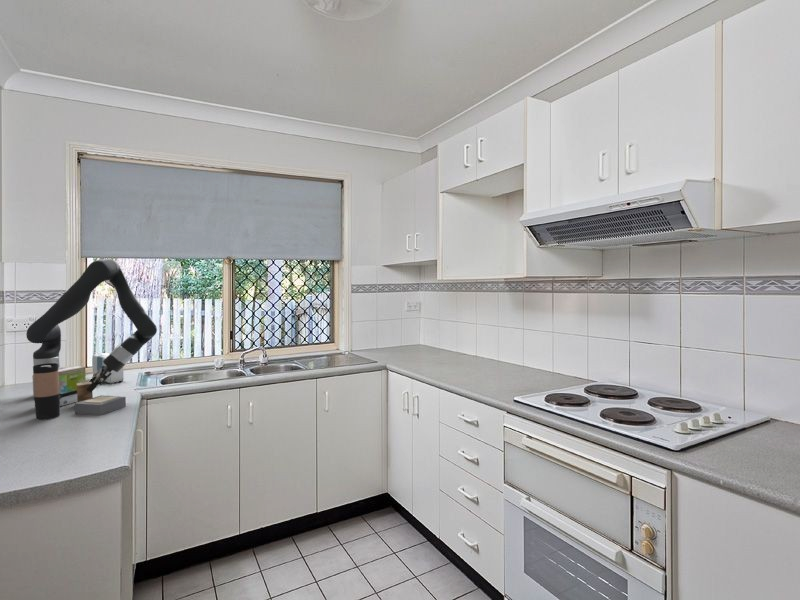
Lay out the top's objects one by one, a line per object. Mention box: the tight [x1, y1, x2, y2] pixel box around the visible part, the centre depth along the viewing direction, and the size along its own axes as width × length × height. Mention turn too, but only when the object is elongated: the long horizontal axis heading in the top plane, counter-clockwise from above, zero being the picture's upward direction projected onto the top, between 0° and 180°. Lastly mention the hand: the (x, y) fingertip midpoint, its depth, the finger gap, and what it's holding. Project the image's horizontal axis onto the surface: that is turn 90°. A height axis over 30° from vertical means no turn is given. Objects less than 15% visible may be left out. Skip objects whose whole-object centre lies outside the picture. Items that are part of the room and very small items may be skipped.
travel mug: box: [32, 363, 61, 421], centre depth 171 cm, size 8×8×20 cm
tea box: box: [58, 365, 87, 407], centre depth 190 cm, size 15×10×15 cm, turn 168°
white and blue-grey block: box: [91, 342, 125, 384], centre depth 232 cm, size 21×8×20 cm, turn 53°
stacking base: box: [74, 394, 127, 416], centre depth 180 cm, size 12×12×4 cm
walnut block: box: [77, 381, 94, 402], centre depth 187 cm, size 5×5×9 cm
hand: (87, 388), depth 188 cm, fingers open, 8 cm apart
